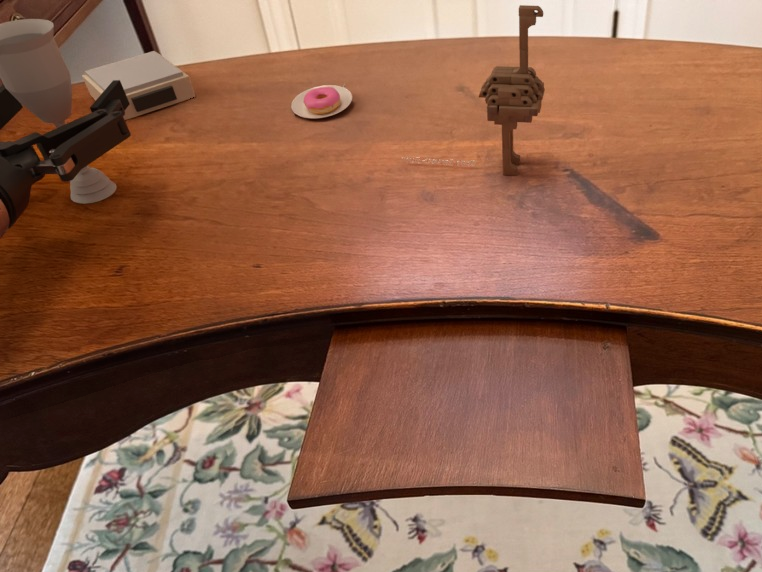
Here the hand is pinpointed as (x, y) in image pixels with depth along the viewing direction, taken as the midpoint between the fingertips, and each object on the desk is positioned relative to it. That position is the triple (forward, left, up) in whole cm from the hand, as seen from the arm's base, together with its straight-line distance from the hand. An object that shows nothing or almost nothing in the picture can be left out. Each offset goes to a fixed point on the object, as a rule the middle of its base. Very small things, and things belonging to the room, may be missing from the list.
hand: (67, 93), depth 79 cm
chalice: (+3, -2, -10) cm, 11 cm away
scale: (-18, +12, -10) cm, 24 cm away
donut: (+2, +30, -10) cm, 31 cm away
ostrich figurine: (+29, +34, -10) cm, 45 cm away
